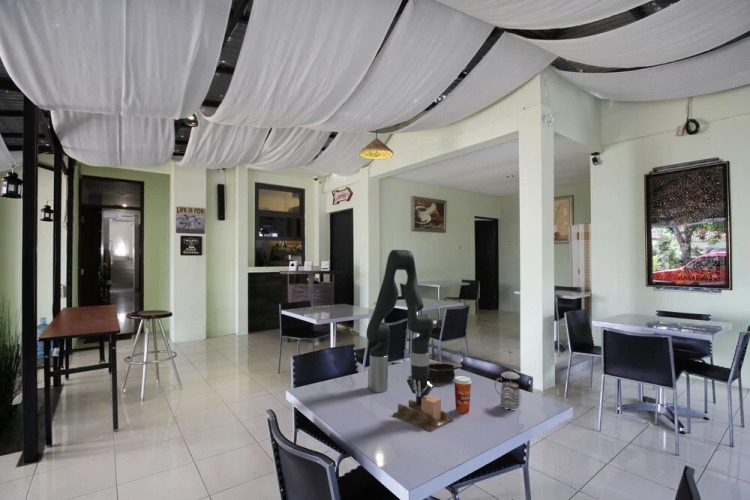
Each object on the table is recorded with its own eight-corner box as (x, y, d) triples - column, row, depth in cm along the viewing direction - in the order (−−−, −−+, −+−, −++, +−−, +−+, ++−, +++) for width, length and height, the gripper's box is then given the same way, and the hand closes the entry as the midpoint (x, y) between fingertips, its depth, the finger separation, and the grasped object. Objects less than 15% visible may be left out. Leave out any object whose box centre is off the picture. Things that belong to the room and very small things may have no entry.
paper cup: (458, 415, 158) (458, 381, 159) (450, 408, 166) (450, 376, 166) (475, 413, 160) (475, 380, 161) (466, 406, 168) (466, 375, 168)
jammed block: (421, 418, 152) (421, 398, 152) (428, 414, 156) (429, 395, 156) (433, 423, 148) (433, 402, 148) (440, 419, 151) (440, 399, 151)
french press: (524, 411, 163) (523, 353, 164) (496, 409, 165) (496, 352, 166) (519, 403, 173) (519, 348, 173) (493, 400, 175) (493, 347, 176)
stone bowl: (443, 388, 191) (442, 369, 192) (407, 380, 209) (406, 363, 210) (471, 377, 208) (469, 360, 208) (435, 371, 226) (434, 355, 227)
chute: (393, 415, 157) (393, 406, 157) (414, 406, 167) (414, 397, 167) (431, 431, 143) (431, 421, 143) (452, 421, 152) (452, 411, 153)
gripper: (402, 361, 158) (401, 402, 158) (427, 368, 149) (426, 412, 148) (413, 358, 164) (413, 398, 163) (438, 364, 154) (438, 407, 154)
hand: (419, 404), depth 156 cm, fingers closed
